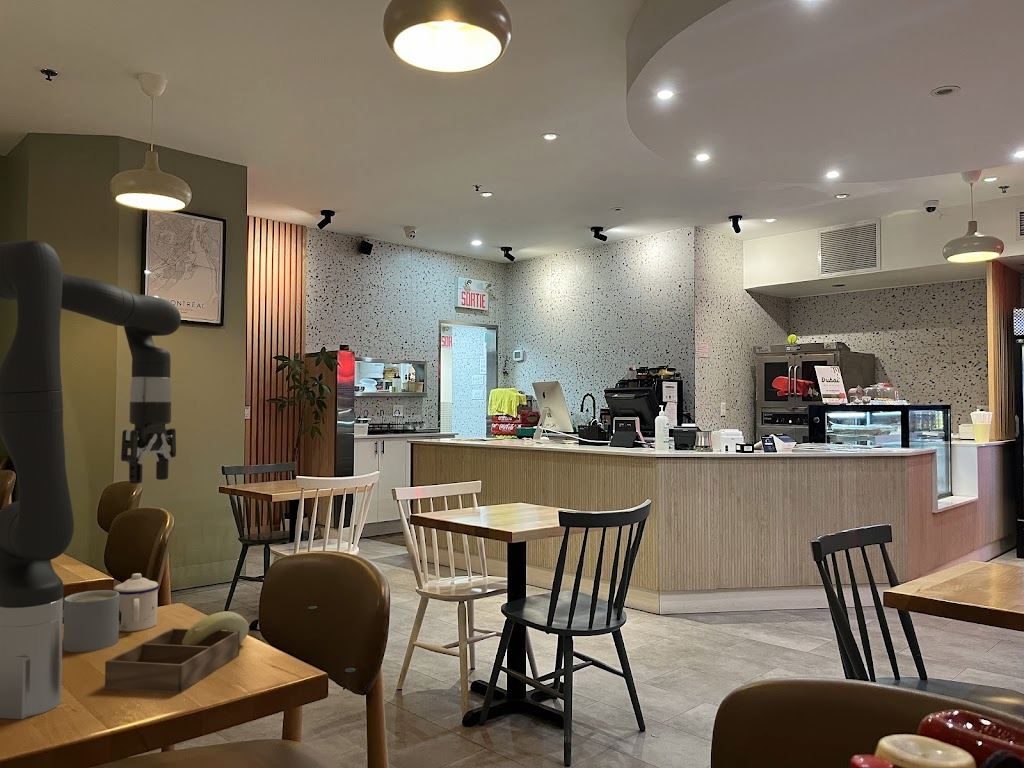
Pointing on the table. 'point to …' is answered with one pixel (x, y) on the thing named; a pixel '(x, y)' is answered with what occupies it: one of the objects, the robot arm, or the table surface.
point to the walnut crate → (170, 662)
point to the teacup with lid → (137, 603)
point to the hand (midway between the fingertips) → (149, 481)
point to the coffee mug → (91, 621)
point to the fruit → (216, 627)
